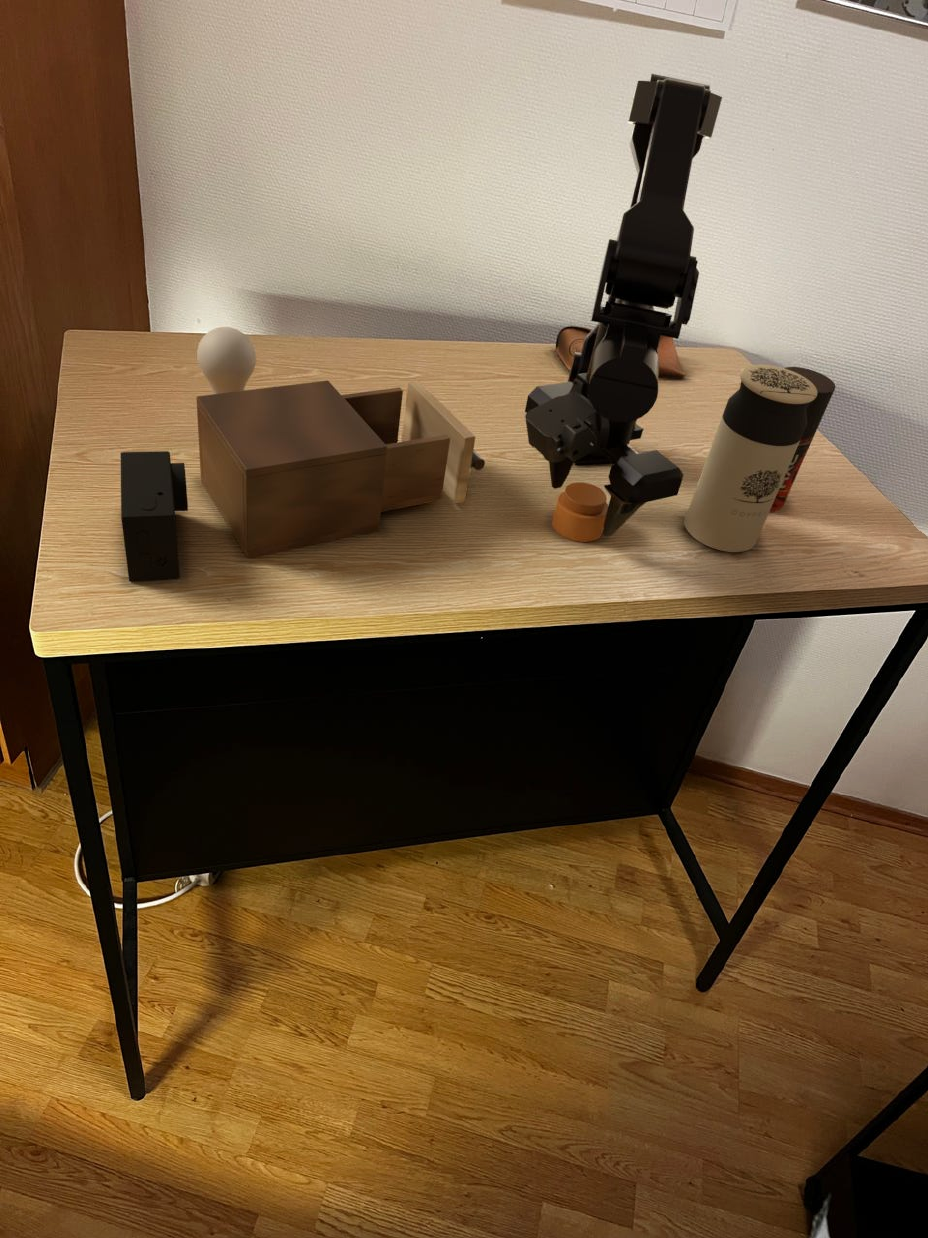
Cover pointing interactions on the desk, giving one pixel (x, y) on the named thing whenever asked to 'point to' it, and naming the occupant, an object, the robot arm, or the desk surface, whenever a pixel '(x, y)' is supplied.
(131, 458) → the digital camera
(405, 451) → the drawer
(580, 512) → the stacked orange cylinders
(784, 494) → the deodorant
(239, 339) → the lightbulb
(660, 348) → the sunglasses case
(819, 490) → the desk surface
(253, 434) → the cabinet
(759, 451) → the travel mug
